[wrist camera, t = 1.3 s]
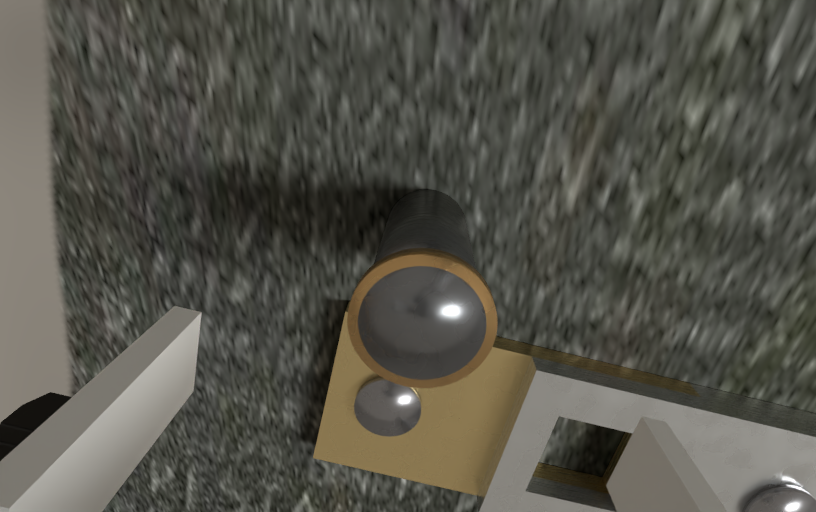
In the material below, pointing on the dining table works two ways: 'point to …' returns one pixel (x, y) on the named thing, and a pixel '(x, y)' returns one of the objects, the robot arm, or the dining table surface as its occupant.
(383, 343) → the pin
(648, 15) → the dining table surface
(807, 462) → the link
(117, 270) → the dining table surface
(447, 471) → the link
